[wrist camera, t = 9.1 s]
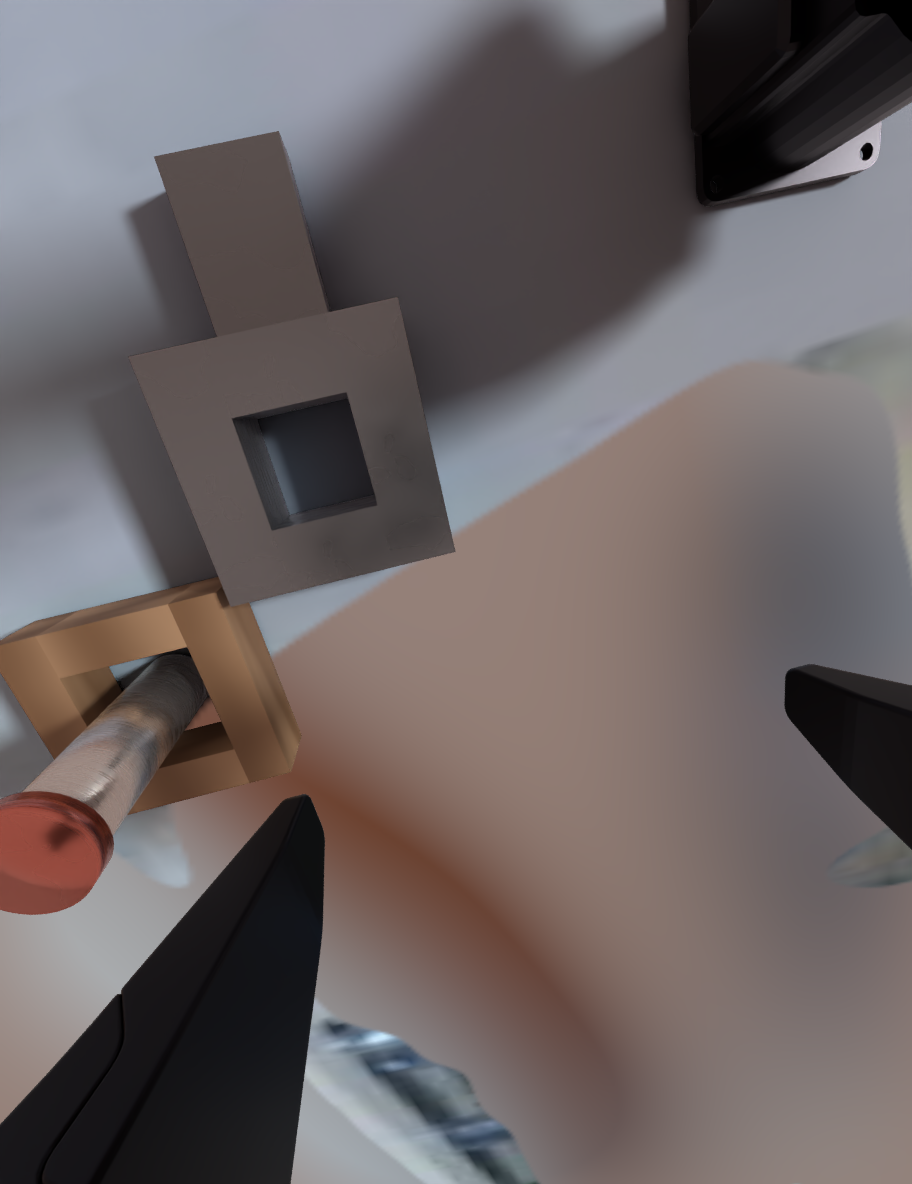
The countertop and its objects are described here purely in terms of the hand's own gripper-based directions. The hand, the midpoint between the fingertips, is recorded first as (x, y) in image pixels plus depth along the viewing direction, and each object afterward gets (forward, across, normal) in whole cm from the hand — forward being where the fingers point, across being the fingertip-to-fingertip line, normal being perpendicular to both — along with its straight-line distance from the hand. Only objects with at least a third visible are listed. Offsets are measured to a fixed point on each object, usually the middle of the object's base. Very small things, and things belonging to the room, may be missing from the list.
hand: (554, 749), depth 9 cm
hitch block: (+12, +5, -8) cm, 15 cm away
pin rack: (+12, +13, +2) cm, 18 cm away
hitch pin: (+12, +13, +2) cm, 18 cm away
